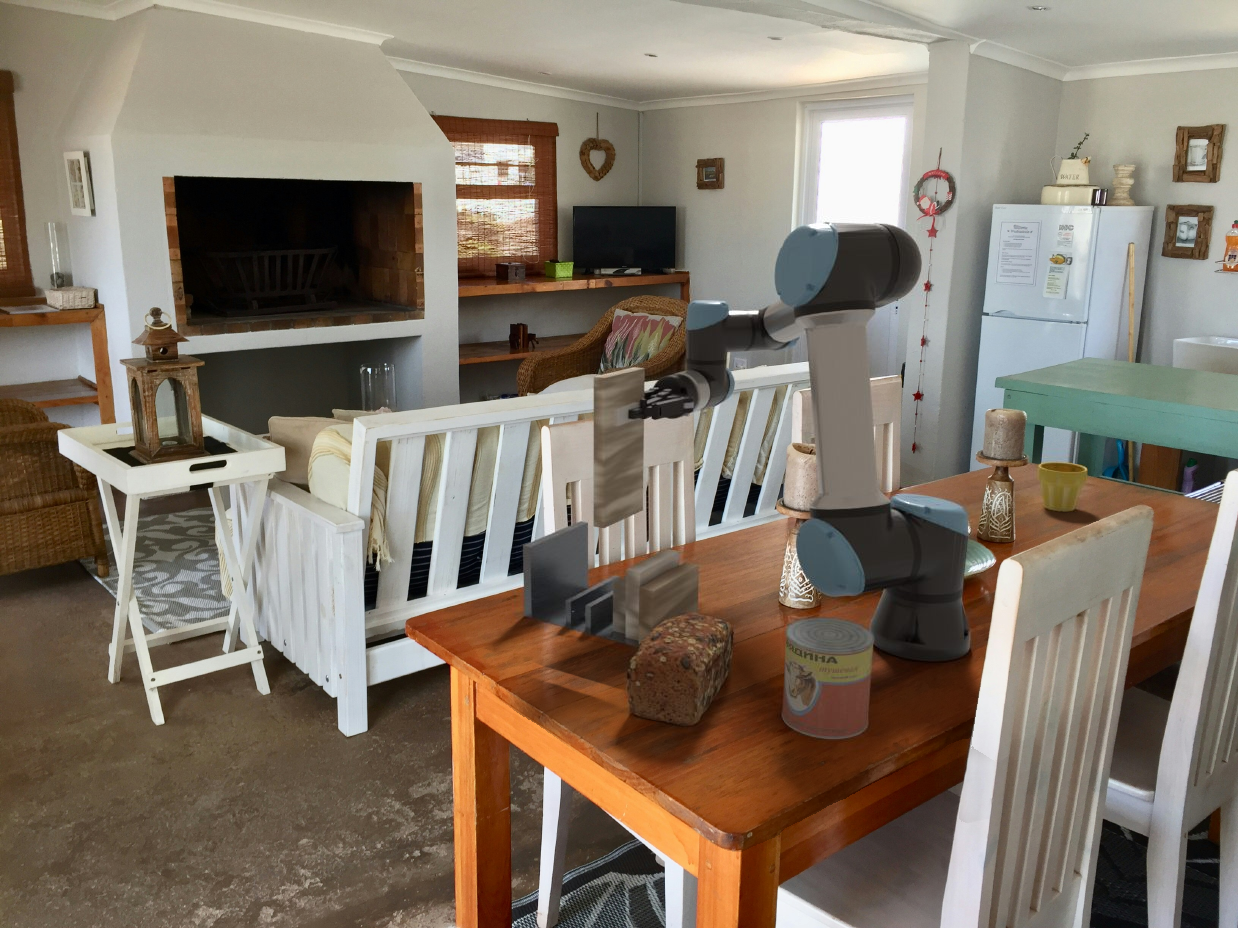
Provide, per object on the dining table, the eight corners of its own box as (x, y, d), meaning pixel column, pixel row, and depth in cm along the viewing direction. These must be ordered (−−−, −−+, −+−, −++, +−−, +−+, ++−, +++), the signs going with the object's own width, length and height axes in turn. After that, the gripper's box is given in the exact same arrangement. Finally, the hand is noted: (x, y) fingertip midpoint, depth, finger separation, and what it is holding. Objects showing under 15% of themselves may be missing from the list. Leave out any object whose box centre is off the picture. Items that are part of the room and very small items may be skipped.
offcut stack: (697, 617, 163) (699, 553, 160) (652, 647, 151) (653, 578, 149) (652, 606, 167) (653, 543, 165) (605, 634, 156) (605, 567, 153)
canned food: (764, 712, 135) (767, 629, 132) (823, 690, 141) (827, 610, 138) (826, 748, 126) (831, 659, 123) (886, 723, 132) (892, 638, 129)
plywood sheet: (642, 510, 169) (644, 368, 163) (604, 528, 159) (604, 377, 153) (632, 508, 170) (634, 367, 164) (593, 526, 160) (593, 376, 154)
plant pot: (1026, 507, 232) (1030, 466, 230) (1046, 499, 239) (1050, 459, 236) (1071, 517, 224) (1076, 474, 222) (1090, 508, 231) (1095, 467, 229)
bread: (698, 731, 130) (700, 660, 128) (621, 716, 134) (622, 647, 131) (735, 673, 147) (738, 609, 145) (666, 661, 151) (667, 598, 148)
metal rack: (707, 625, 163) (709, 546, 160) (656, 660, 150) (657, 575, 147) (581, 594, 177) (580, 521, 173) (524, 624, 164) (522, 545, 160)
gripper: (717, 420, 174) (648, 445, 154) (642, 411, 182) (568, 434, 162) (719, 377, 172) (649, 397, 153) (643, 370, 180) (567, 388, 160)
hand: (607, 416), depth 157 cm, fingers closed on plywood sheet, 2 cm apart
